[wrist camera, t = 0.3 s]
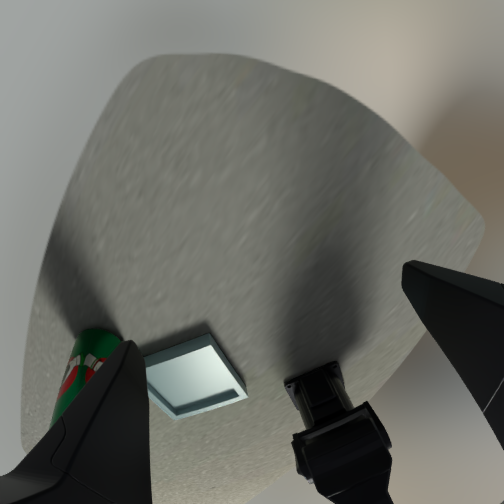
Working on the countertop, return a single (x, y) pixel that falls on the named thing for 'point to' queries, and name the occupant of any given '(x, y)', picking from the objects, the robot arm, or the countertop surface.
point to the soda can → (83, 365)
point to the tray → (192, 378)
